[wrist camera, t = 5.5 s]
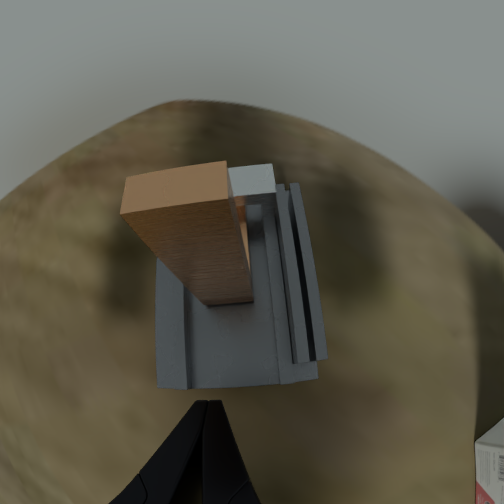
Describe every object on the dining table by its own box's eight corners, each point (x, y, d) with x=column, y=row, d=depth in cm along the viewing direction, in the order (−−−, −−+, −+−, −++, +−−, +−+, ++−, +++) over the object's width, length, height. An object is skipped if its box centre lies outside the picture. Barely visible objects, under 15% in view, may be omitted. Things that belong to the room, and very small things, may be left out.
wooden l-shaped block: (253, 301, 16) (227, 198, 7) (204, 305, 16) (119, 213, 7) (243, 183, 19) (223, 49, 10) (202, 188, 19) (159, 62, 10)
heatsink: (315, 378, 15) (331, 381, 11) (163, 387, 15) (130, 390, 11) (290, 198, 20) (293, 155, 16) (165, 212, 20) (142, 175, 16)
